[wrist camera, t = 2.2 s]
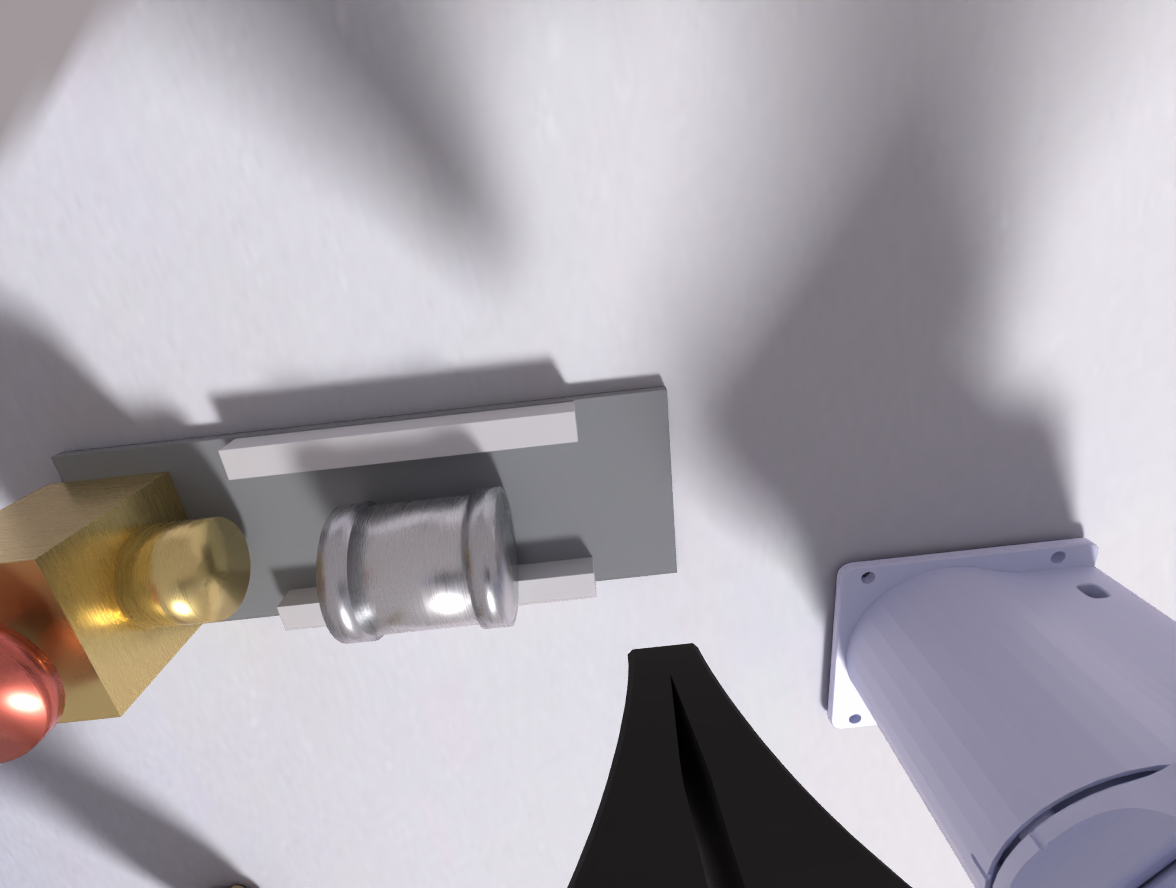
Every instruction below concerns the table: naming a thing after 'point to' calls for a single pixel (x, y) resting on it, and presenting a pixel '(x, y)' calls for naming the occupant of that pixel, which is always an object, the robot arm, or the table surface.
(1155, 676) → the robot arm
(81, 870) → the table surface
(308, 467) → the grey railed tray
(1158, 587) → the table surface
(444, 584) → the coupling
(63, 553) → the valve
